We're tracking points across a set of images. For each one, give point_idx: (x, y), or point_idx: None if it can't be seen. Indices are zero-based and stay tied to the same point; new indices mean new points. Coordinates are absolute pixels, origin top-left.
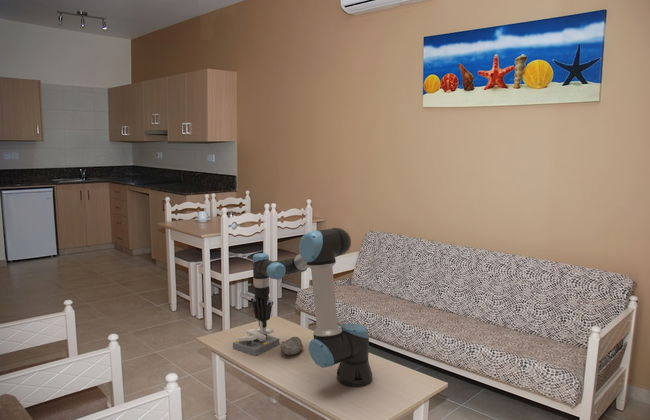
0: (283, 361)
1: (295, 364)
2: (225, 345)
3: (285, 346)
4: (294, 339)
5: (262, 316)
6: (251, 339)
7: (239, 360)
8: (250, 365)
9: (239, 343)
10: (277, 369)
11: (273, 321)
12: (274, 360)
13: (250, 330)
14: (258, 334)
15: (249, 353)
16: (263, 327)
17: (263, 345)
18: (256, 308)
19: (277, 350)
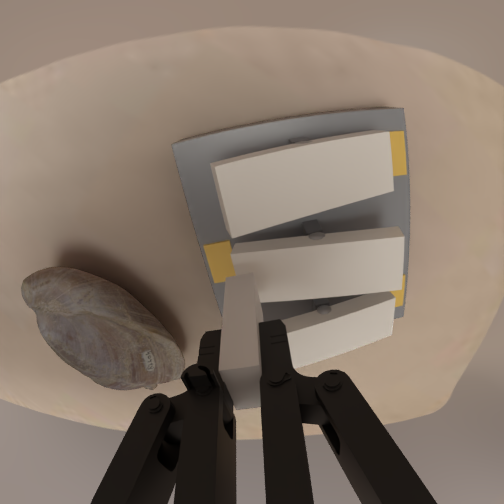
0: (48, 226)
1: (11, 247)
2: (444, 110)
3: (25, 283)
4: (60, 357)
5: (202, 432)
6: (227, 160)
7: (197, 32)
8: (97, 59)
9: (358, 128)
10: (2, 159)
11: (427, 399)
12: (74, 197)
13: (385, 262)
14: (297, 275)
15: (234, 127)
16: (217, 330)
17: (203, 232)
18: (369, 498)
19: (171, 279)
